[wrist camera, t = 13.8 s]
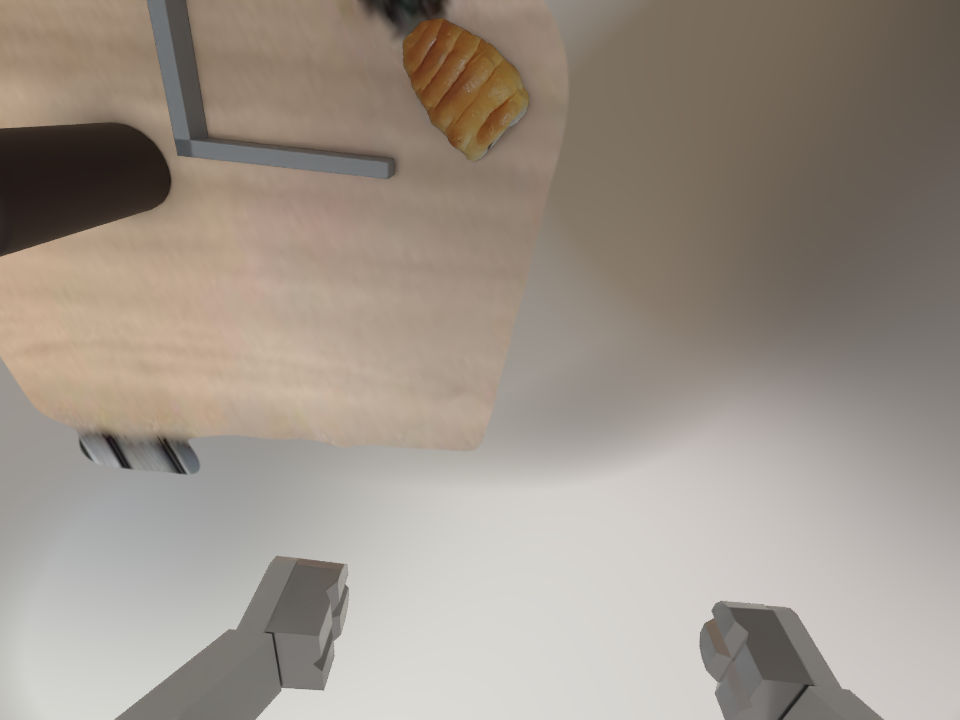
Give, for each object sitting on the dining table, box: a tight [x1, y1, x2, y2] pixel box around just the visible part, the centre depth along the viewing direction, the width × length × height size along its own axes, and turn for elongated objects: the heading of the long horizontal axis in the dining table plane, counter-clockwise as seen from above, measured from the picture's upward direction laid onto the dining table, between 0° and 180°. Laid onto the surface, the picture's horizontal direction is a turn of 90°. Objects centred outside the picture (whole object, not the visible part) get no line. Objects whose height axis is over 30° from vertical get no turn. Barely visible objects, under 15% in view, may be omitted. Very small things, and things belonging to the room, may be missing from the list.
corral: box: [147, 0, 394, 179], centre depth 33 cm, size 18×16×2 cm
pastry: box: [403, 18, 529, 161], centre depth 33 cm, size 9×7×4 cm
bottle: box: [0, 123, 170, 257], centre depth 30 cm, size 7×7×20 cm
